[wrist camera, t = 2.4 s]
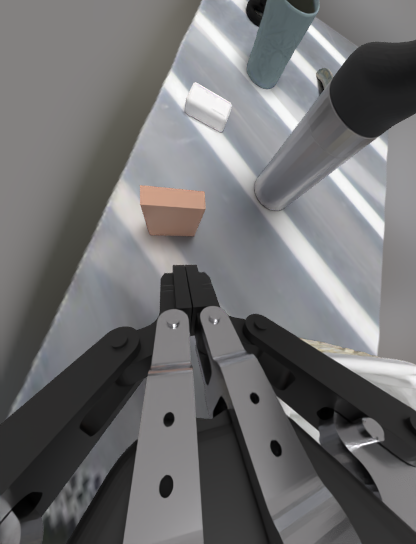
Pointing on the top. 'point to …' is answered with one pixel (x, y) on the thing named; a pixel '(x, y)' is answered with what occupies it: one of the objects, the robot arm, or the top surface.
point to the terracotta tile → (172, 210)
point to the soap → (207, 107)
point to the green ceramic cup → (279, 38)
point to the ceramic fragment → (324, 76)
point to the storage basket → (366, 377)
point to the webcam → (257, 2)
